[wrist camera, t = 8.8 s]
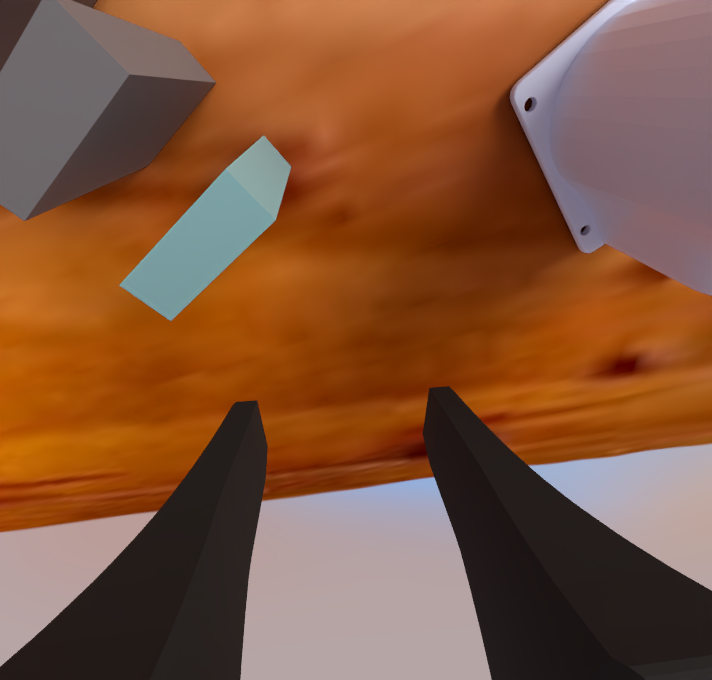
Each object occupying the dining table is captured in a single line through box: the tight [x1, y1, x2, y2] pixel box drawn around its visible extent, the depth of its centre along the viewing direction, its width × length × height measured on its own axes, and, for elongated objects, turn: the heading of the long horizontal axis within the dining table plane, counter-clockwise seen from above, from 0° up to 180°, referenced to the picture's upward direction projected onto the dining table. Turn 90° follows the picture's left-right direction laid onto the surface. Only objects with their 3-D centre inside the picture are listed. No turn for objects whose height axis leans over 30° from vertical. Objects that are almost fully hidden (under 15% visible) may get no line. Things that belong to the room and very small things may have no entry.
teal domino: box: [120, 135, 291, 321], centre depth 13 cm, size 2×4×8 cm, turn 130°
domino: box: [0, 0, 216, 221], centre depth 11 cm, size 2×4×8 cm, turn 130°
